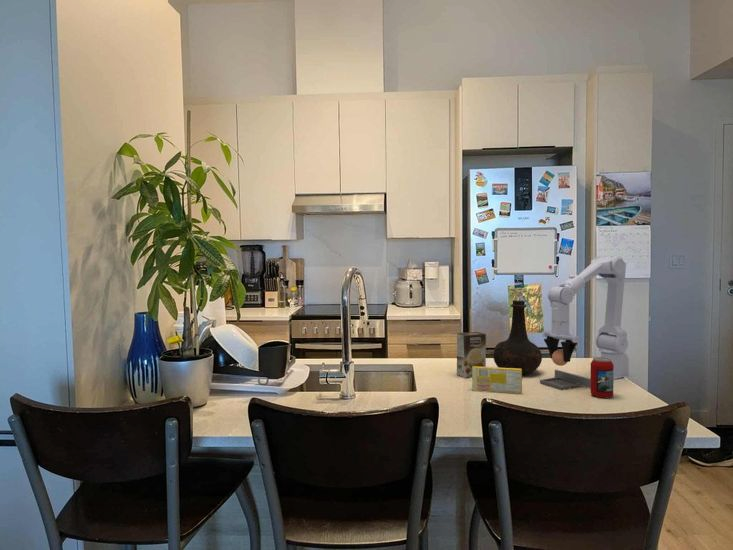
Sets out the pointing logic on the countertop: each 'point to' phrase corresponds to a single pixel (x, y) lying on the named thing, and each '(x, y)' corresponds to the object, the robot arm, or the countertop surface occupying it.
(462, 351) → the coffee box
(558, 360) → the ball
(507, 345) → the glass bottle
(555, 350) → the robot arm
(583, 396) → the countertop surface
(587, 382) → the low fence
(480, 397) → the countertop surface
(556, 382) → the charcoal dish
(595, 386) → the beverage can
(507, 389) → the candy box
